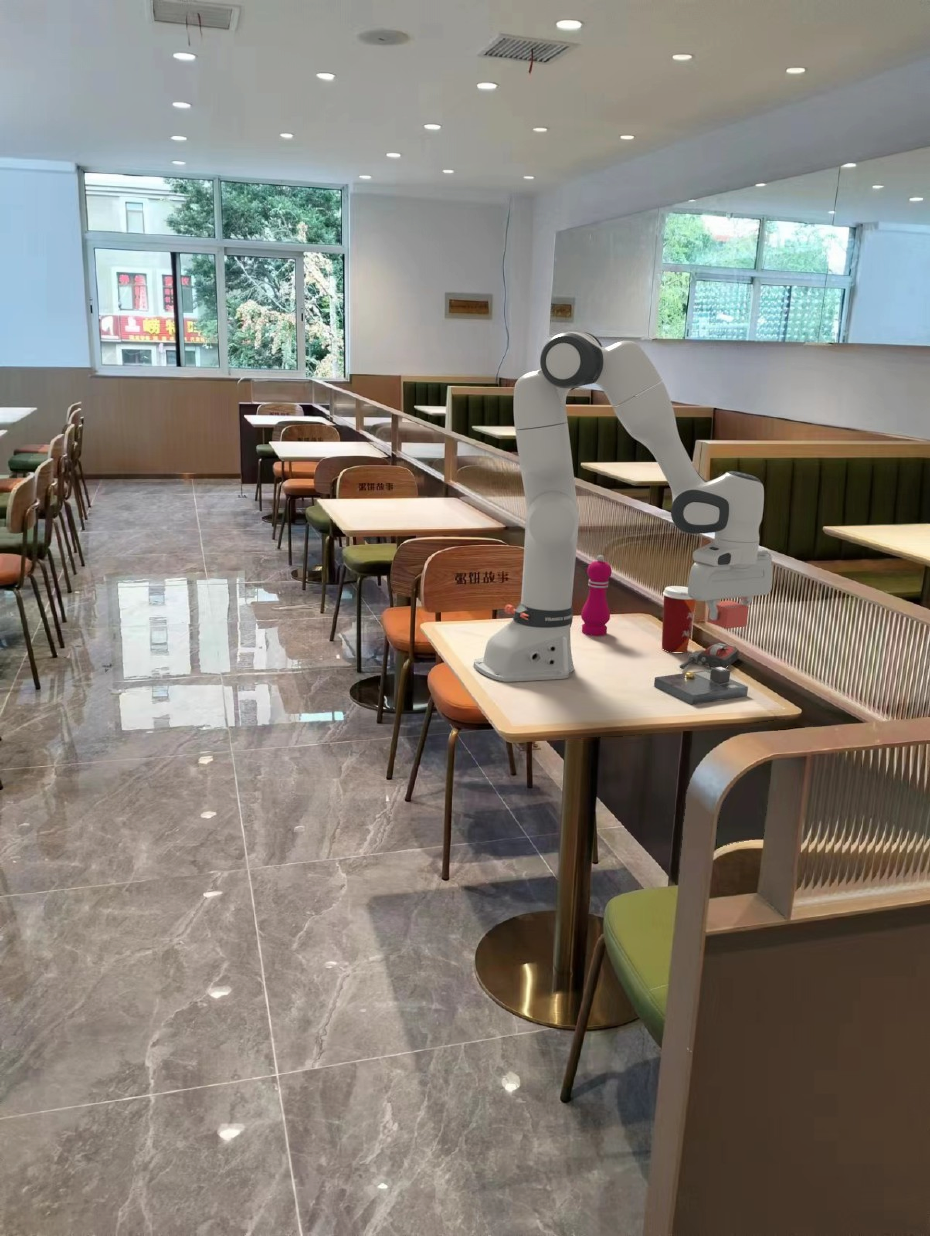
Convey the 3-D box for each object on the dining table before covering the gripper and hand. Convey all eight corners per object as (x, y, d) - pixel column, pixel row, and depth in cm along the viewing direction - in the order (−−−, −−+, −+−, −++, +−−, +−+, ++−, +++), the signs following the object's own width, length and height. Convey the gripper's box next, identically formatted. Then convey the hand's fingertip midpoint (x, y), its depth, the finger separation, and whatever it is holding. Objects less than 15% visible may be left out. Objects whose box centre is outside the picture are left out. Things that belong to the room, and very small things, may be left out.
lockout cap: (726, 628, 196) (728, 608, 195) (707, 621, 201) (709, 602, 200) (746, 626, 199) (748, 606, 198) (727, 619, 203) (729, 600, 202)
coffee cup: (694, 655, 228) (702, 594, 224) (660, 653, 228) (666, 592, 224) (687, 645, 236) (694, 586, 232) (654, 643, 236) (660, 584, 232)
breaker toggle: (719, 683, 201) (720, 671, 200) (709, 679, 204) (711, 667, 203) (729, 681, 202) (730, 669, 202) (719, 677, 205) (721, 665, 204)
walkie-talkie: (704, 652, 233) (675, 672, 216) (706, 634, 231) (677, 653, 215) (740, 659, 228) (713, 680, 212) (742, 641, 227) (716, 661, 210)
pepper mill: (613, 632, 244) (620, 555, 239) (601, 638, 238) (608, 559, 233) (587, 627, 248) (593, 550, 243) (575, 632, 242) (581, 554, 237)
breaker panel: (692, 704, 194) (693, 691, 193) (654, 686, 204) (655, 673, 203) (747, 695, 201) (748, 683, 200) (707, 678, 211) (709, 666, 211)
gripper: (761, 547, 203) (753, 610, 207) (686, 552, 194) (679, 618, 197) (783, 552, 198) (775, 617, 202) (708, 558, 189) (700, 626, 192)
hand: (727, 618), depth 199 cm, fingers closed on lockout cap, 6 cm apart
